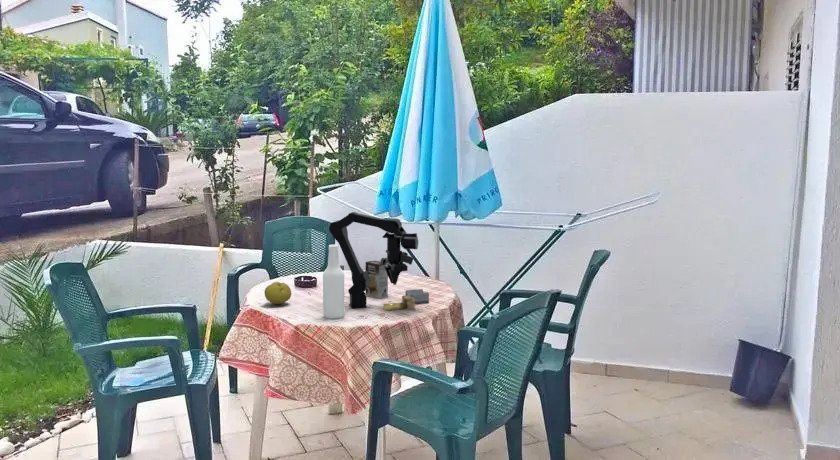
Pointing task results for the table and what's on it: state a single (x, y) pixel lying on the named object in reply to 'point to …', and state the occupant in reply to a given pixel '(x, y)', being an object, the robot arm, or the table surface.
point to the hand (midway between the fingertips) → (393, 284)
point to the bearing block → (409, 302)
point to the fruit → (278, 293)
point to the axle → (394, 306)
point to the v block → (418, 296)
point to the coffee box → (377, 280)
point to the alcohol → (333, 286)
